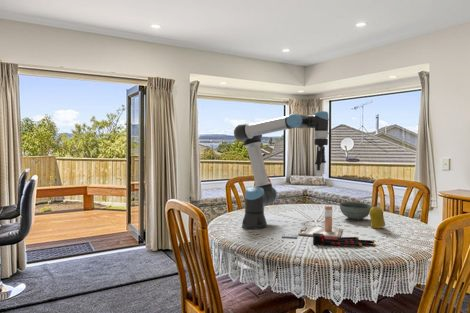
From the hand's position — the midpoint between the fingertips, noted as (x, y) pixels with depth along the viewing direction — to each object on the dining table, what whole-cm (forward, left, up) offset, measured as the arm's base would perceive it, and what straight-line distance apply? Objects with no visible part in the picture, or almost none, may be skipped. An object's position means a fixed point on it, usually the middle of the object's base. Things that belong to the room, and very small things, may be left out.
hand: (320, 174), depth 198 cm
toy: (+15, -25, -33) cm, 44 cm away
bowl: (+18, +36, -33) cm, 52 cm away
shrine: (+31, +15, -33) cm, 48 cm away
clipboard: (+1, -6, -32) cm, 33 cm away
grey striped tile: (-14, -20, -32) cm, 40 cm away
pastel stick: (+5, -5, -31) cm, 32 cm away
